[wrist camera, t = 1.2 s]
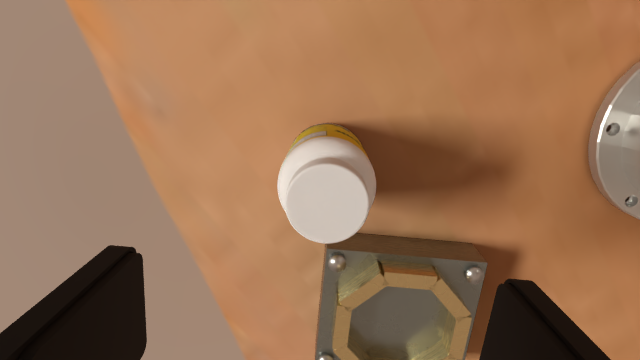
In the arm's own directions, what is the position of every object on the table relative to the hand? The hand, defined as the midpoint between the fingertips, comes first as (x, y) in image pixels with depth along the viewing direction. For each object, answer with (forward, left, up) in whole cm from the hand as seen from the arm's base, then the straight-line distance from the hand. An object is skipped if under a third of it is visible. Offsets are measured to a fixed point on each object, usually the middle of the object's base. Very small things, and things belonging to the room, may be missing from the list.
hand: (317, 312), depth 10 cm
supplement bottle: (0, 0, -18) cm, 18 cm away
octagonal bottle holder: (-6, +10, -18) cm, 22 cm away
